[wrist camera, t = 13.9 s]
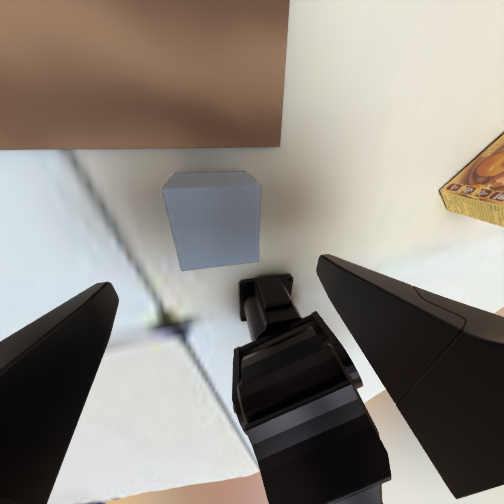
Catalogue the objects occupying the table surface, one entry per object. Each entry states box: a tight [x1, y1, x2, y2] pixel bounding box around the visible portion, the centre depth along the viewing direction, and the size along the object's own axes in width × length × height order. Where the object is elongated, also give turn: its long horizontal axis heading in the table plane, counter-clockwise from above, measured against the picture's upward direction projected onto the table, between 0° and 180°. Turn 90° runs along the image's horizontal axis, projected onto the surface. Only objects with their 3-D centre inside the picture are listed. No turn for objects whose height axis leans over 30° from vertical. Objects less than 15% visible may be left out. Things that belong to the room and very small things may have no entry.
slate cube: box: [162, 171, 261, 271], centre depth 14 cm, size 6×6×6 cm
